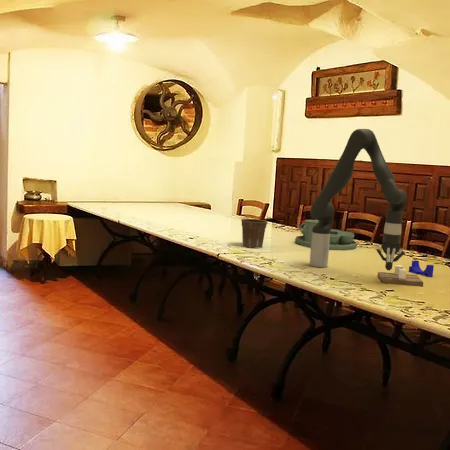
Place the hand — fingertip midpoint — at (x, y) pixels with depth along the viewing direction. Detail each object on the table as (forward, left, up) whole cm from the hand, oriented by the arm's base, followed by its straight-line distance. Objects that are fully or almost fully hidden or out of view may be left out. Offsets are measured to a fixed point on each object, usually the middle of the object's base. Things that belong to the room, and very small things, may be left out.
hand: (388, 269), depth 236 cm
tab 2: (0, +6, -3) cm, 7 cm away
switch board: (-4, +6, -6) cm, 9 cm away
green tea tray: (-98, -25, -6) cm, 102 cm away
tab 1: (-9, +6, -3) cm, 11 cm away
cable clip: (-25, +20, -6) cm, 33 cm away
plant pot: (-67, -70, -6) cm, 97 cm away
